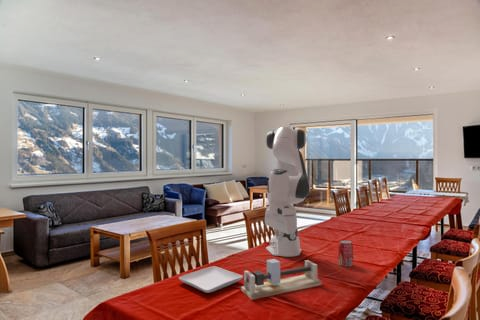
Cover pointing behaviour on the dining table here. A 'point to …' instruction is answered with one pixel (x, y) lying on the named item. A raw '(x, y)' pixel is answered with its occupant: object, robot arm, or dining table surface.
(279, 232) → the robot arm
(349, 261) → the soda can
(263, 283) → the linear slide rail
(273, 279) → the slide rail carriage
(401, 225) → the dining table surface
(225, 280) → the salad plate
